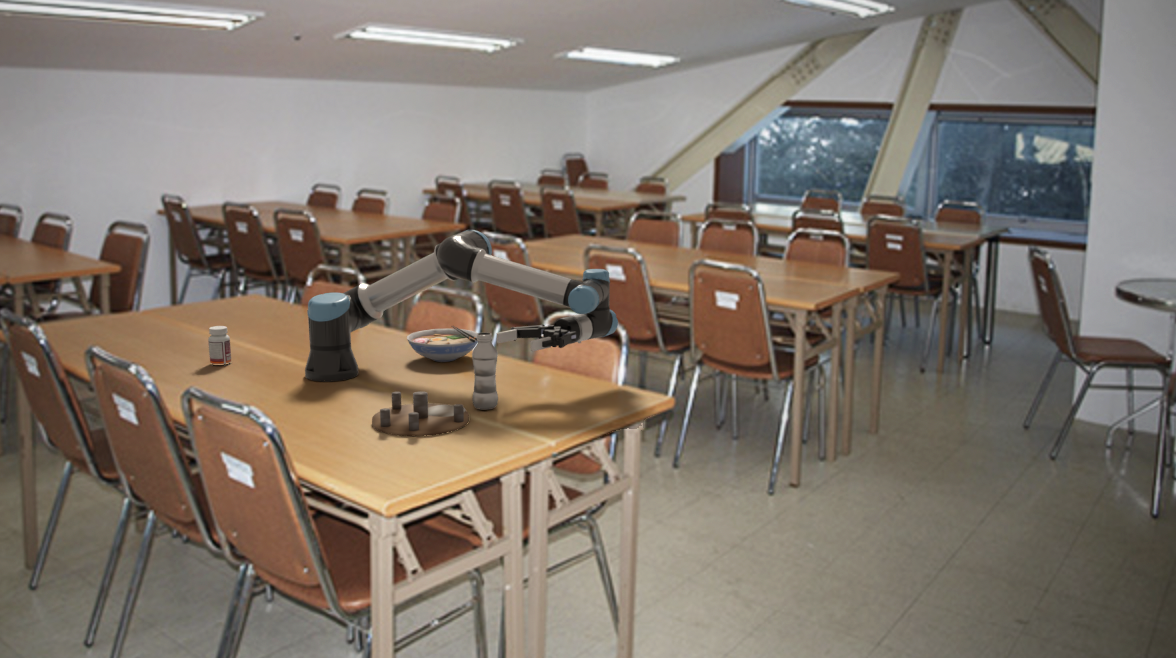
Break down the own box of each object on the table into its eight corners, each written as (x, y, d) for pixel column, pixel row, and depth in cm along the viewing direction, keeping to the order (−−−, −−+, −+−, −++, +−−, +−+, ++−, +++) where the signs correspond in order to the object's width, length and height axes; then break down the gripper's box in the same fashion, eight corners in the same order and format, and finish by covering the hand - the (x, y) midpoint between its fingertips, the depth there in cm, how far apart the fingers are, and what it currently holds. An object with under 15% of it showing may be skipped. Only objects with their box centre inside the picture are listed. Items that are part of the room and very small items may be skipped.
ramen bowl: (398, 353, 325) (397, 328, 323) (468, 347, 334) (467, 322, 332) (418, 372, 303) (417, 345, 301) (491, 365, 311) (491, 338, 310)
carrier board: (362, 436, 244) (361, 407, 242) (382, 407, 267) (381, 380, 266) (463, 436, 244) (462, 407, 242) (474, 407, 267) (473, 381, 266)
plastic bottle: (472, 405, 269) (471, 331, 265) (498, 405, 270) (497, 331, 266) (472, 412, 263) (470, 336, 259) (498, 412, 264) (497, 336, 259)
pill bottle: (227, 360, 316) (224, 324, 313) (234, 364, 311) (232, 327, 309) (207, 363, 312) (204, 327, 309) (214, 367, 307) (211, 330, 305)
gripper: (604, 349, 277) (546, 363, 262) (541, 336, 294) (484, 348, 279) (604, 322, 275) (546, 335, 260) (541, 310, 292) (483, 321, 278)
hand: (514, 342), depth 270 cm, fingers open, 13 cm apart
